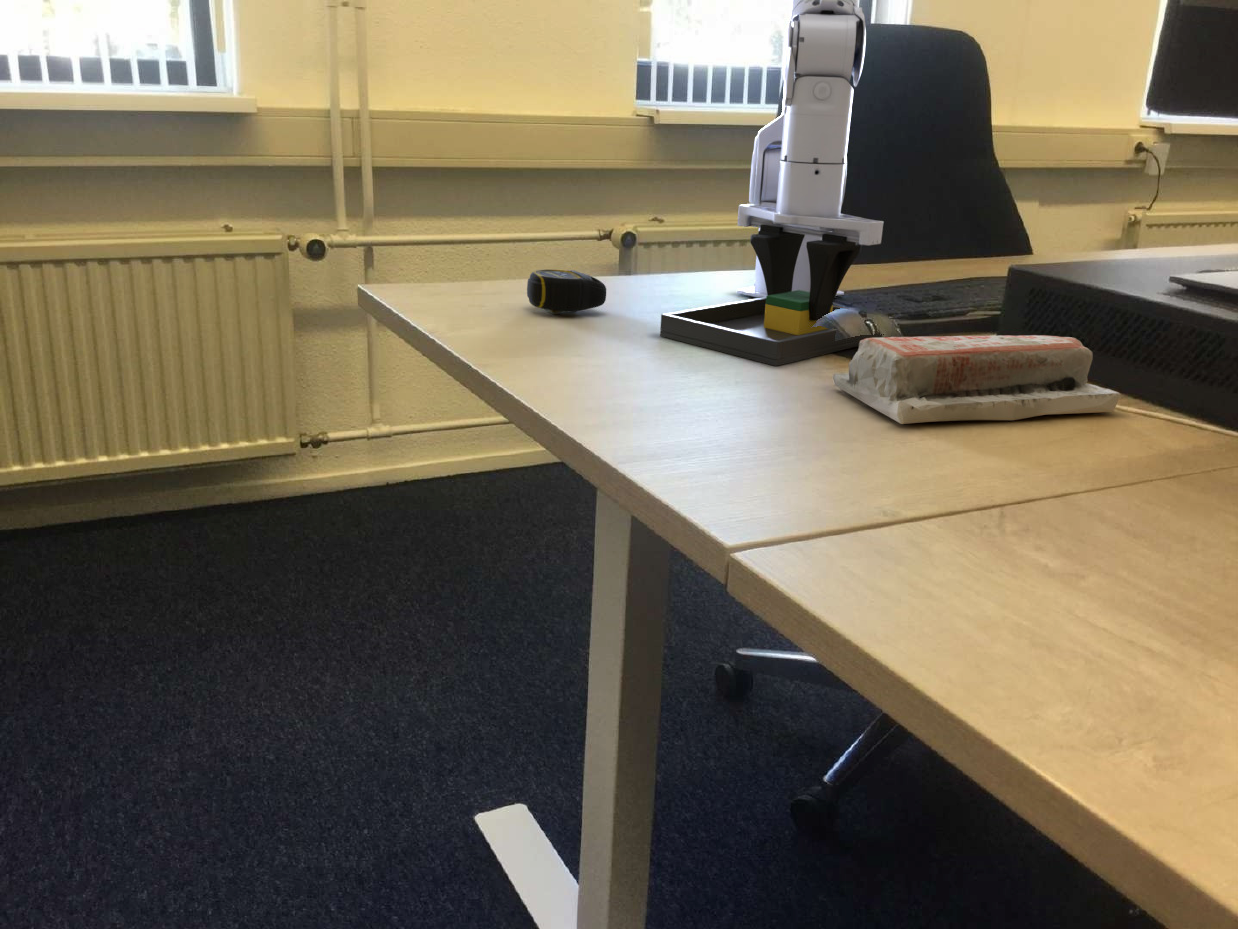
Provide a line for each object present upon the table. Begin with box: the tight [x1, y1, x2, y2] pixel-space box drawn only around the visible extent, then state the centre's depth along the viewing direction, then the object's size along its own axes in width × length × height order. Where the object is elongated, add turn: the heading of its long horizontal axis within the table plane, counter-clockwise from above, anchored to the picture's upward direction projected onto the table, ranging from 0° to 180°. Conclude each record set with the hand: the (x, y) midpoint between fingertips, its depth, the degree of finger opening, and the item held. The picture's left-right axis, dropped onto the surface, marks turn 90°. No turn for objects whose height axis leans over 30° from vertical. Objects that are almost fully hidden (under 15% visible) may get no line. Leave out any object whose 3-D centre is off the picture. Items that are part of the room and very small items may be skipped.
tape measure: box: [526, 269, 607, 315], centre depth 102 cm, size 7×7×4 cm
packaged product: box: [832, 334, 1122, 425], centre depth 76 cm, size 18×5×10 cm
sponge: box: [764, 290, 834, 335], centre depth 96 cm, size 5×4×3 cm
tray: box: [659, 297, 894, 367], centre depth 95 cm, size 17×13×2 cm
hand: (798, 314), depth 96 cm, fingers closed on sponge, 4 cm apart
